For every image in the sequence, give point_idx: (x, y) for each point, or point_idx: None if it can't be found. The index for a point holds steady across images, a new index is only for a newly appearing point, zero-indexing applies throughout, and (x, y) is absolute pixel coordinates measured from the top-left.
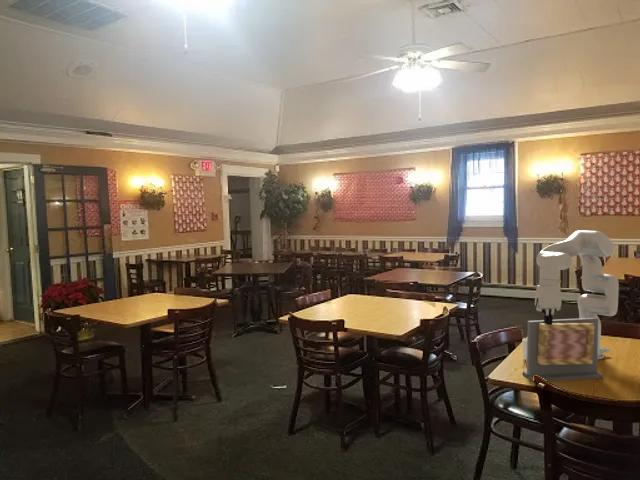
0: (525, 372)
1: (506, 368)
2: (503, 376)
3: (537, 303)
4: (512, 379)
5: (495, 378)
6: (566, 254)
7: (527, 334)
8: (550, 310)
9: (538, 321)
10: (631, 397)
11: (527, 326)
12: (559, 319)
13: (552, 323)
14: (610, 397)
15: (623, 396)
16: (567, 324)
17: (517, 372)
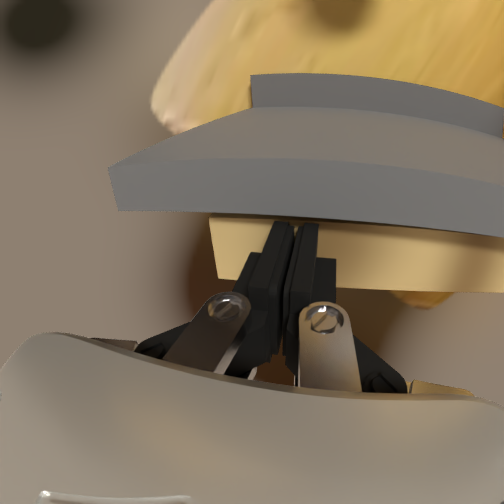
0: (254, 90)
1: (220, 17)
2: (181, 92)
3: (30, 374)
4: (200, 120)
5: (154, 110)
6: None
7: (176, 136)
8: (329, 369)
9: (203, 207)
10: (440, 299)
11: (141, 152)
12: (498, 190)
13: (354, 246)
14: (399, 290)
15: (430, 292)
16: (462, 291)
17: (243, 56)
